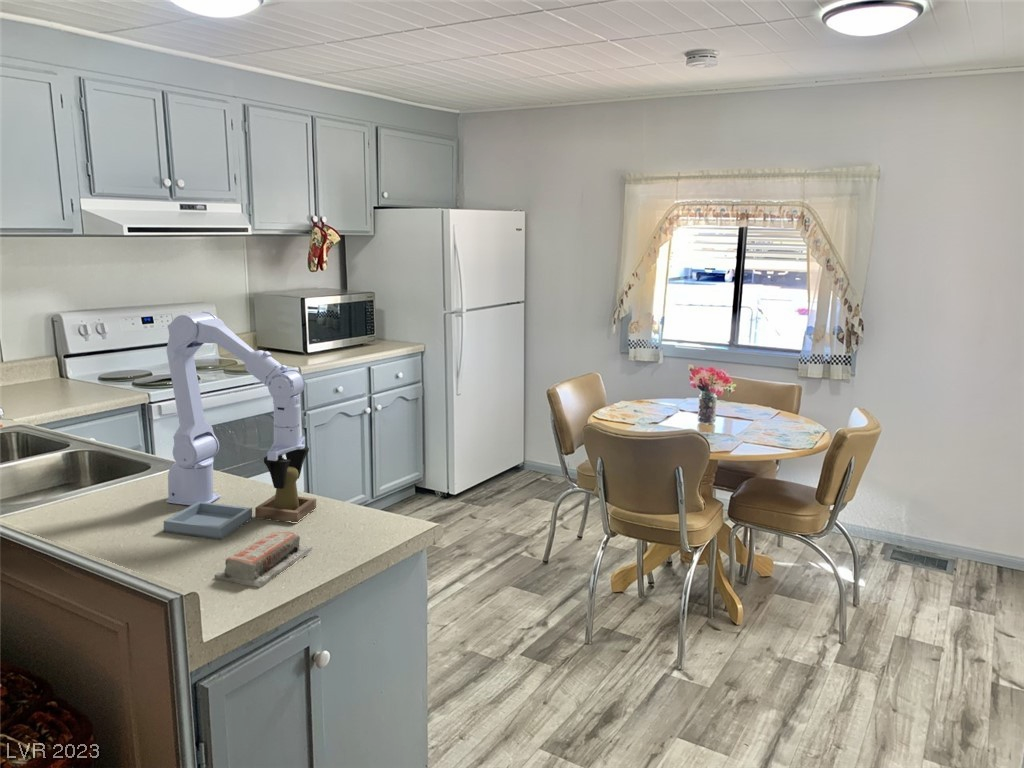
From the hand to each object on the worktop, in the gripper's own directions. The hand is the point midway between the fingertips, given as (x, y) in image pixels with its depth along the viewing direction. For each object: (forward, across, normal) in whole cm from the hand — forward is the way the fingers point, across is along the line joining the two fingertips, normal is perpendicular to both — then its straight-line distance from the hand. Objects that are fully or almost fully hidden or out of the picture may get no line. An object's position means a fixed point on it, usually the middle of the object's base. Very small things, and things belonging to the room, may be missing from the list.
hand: (286, 482), depth 179 cm
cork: (+8, 0, 0) cm, 8 cm away
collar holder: (+7, 0, 0) cm, 7 cm away
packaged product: (+8, -27, -9) cm, 29 cm away
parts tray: (+7, -12, +12) cm, 19 cm away
